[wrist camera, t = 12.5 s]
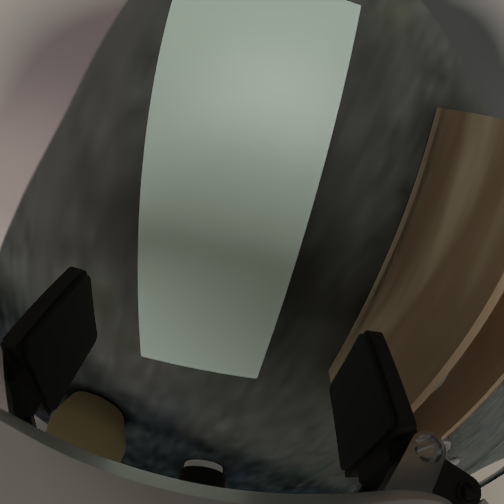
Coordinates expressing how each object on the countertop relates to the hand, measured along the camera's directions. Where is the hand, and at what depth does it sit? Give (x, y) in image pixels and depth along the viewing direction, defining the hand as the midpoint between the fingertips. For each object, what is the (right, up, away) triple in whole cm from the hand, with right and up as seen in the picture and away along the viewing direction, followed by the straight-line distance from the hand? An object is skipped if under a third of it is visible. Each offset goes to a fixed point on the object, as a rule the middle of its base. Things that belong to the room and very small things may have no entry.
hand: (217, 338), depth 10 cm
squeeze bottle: (-15, -13, +16) cm, 25 cm away
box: (+11, +2, +7) cm, 13 cm away
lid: (0, +6, +5) cm, 8 cm away
